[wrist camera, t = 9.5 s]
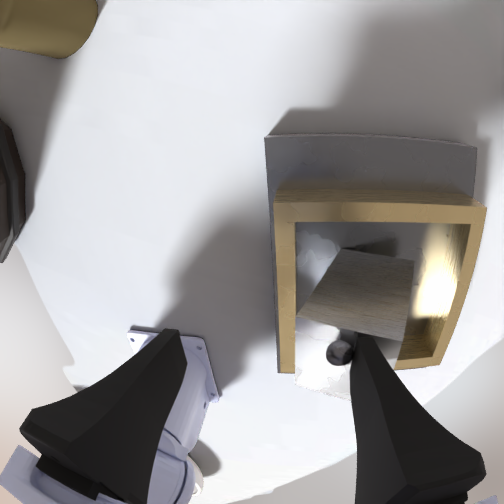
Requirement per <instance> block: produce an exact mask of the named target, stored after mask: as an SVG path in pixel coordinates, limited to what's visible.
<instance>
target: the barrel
mask: <svg viewBox="0 0 504 504" xmlns="http://www.w3.org/2000/svg"><path fill="white" fill-rule="evenodd" d="M25 220H26V219H25V173H24V170H23V167H22V164H21V160H20V157H19V154H18V151H17V147H16V144H15V141H14V137H13V133H12V130H11V129H10V128H9V127H8V126H7V125H6V124H5V123H4V122H3V121H2V120H1V119H0V263H3V262H4V260H5V259H6V258H7V256H8V254H9V252H10V250H11V248H12V246H13V244H14V242H15V240H16V238H17V236H18V234H19V232H20V229H21V227H22V225H23V224H24V222H25Z"/></svg>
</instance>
